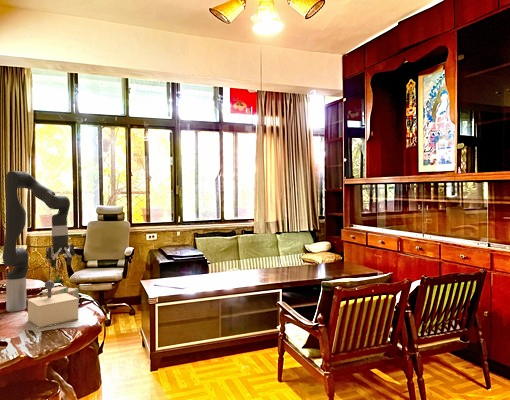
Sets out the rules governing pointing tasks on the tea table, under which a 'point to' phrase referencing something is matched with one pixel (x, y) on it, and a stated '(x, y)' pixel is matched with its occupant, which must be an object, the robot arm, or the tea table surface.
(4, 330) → the tea table surface
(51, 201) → the robot arm
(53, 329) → the tea table surface
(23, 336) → the tea table surface
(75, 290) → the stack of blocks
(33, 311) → the carton
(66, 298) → the lid flap
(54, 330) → the tea table surface
